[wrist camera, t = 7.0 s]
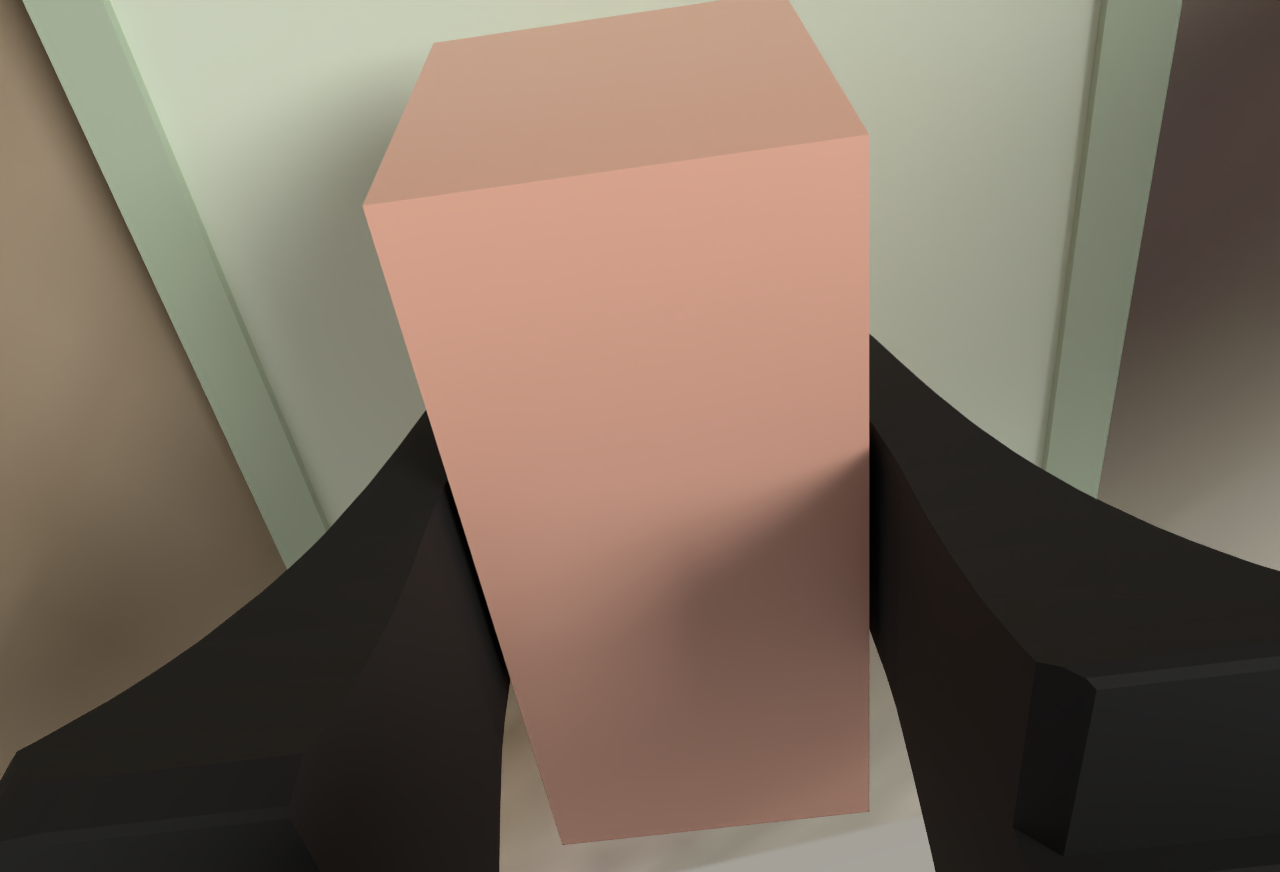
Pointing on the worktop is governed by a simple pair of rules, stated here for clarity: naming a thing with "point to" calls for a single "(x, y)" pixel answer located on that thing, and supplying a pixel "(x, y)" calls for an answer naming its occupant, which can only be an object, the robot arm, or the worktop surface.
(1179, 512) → the worktop surface
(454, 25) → the baseplate
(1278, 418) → the worktop surface
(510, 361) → the coral brick
